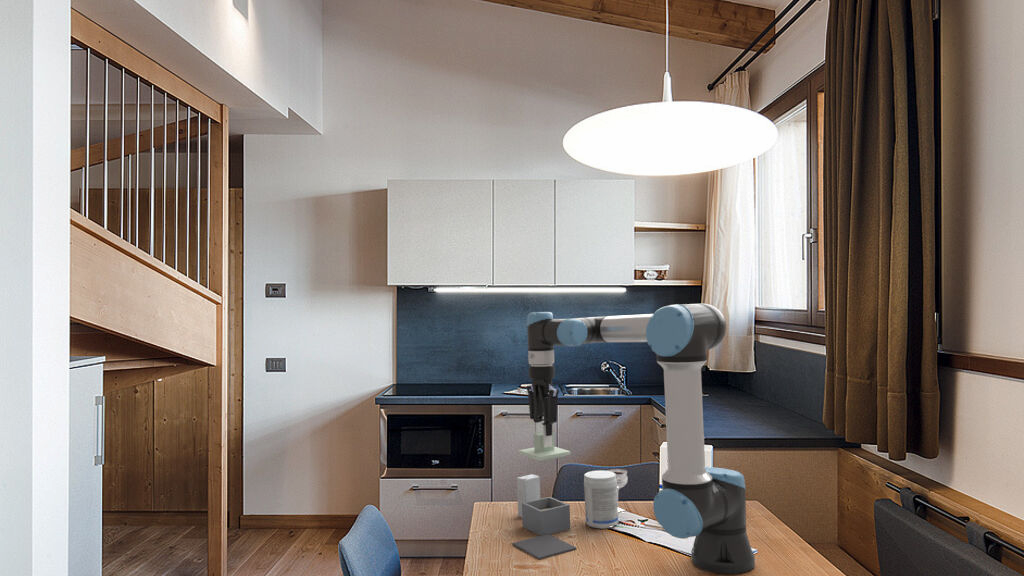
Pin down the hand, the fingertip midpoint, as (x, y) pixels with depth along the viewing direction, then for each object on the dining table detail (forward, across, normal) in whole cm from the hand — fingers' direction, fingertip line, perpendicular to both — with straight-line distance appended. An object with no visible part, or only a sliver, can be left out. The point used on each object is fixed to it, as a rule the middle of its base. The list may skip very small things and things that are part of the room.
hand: (544, 445), depth 201 cm
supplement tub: (+24, +7, +15) cm, 29 cm away
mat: (+24, +12, -9) cm, 28 cm away
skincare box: (+24, -12, +2) cm, 27 cm away
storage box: (+24, 0, 0) cm, 24 cm away
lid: (+3, 0, 0) cm, 3 cm away
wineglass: (+24, 0, +27) cm, 36 cm away
